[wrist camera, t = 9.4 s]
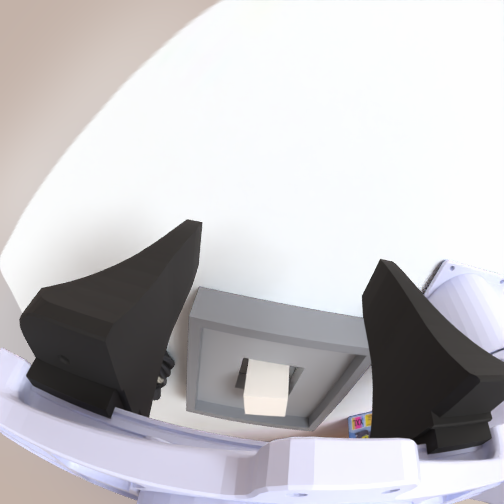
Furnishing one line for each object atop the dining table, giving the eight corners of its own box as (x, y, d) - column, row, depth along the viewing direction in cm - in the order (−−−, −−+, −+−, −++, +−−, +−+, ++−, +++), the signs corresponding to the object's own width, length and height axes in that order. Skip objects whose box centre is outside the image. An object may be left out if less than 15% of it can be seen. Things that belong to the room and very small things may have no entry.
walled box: (375, 319, 27) (381, 349, 24) (313, 408, 37) (313, 431, 34) (199, 286, 26) (189, 316, 23) (192, 387, 37) (186, 411, 34)
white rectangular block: (289, 351, 30) (287, 398, 26) (287, 373, 33) (284, 416, 28) (250, 349, 31) (243, 395, 26) (251, 370, 33) (245, 413, 28)
